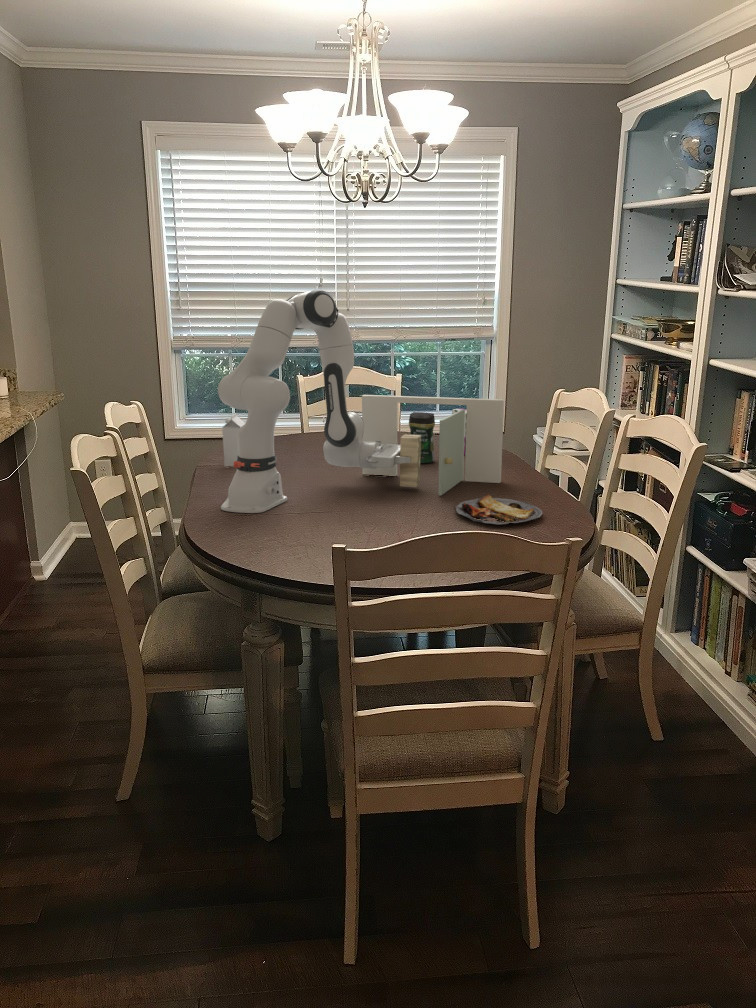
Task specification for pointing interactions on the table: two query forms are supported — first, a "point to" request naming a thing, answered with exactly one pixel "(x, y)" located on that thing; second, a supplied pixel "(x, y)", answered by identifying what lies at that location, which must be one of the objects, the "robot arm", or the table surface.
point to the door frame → (480, 431)
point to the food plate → (497, 510)
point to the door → (451, 451)
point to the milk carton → (231, 439)
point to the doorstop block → (411, 470)
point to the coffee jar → (423, 433)
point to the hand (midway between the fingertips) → (413, 457)
